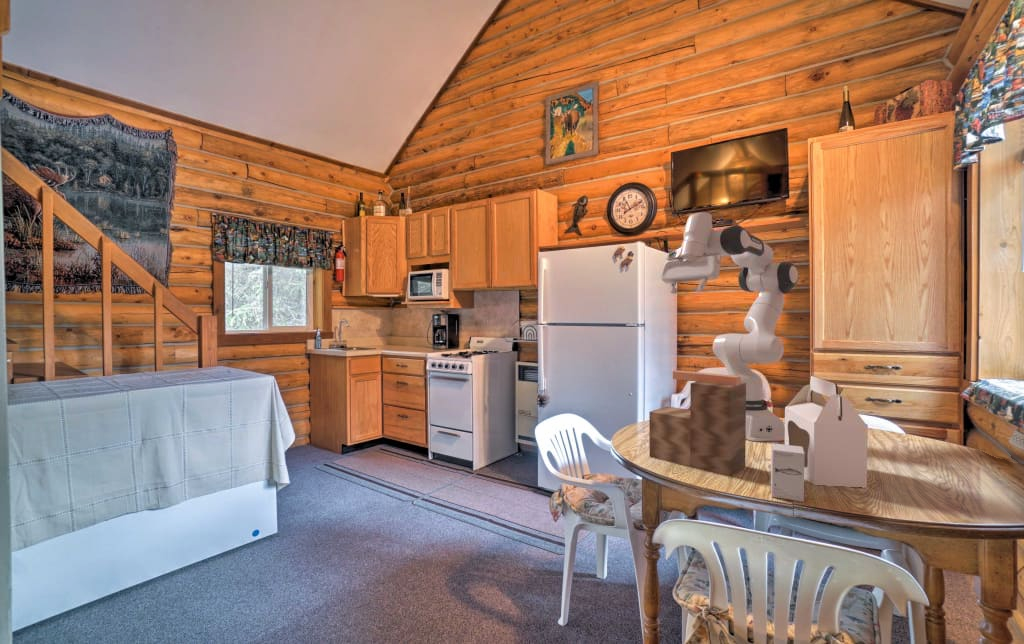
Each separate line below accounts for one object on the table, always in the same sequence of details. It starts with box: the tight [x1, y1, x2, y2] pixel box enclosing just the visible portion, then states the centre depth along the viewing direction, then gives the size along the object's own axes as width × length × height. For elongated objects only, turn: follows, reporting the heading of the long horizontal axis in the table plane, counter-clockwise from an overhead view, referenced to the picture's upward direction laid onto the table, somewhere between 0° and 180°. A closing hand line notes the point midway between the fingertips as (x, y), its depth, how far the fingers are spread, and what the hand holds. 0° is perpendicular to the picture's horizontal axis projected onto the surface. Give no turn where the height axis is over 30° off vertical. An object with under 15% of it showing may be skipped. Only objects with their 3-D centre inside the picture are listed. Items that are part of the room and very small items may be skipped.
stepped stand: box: [648, 381, 747, 477], centre depth 152 cm, size 26×12×26 cm, turn 44°
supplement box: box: [770, 442, 805, 503], centre depth 124 cm, size 7×7×13 cm
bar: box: [672, 369, 741, 386], centre depth 149 cm, size 20×4×2 cm, turn 44°
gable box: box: [784, 375, 869, 489], centre depth 140 cm, size 22×13×28 cm, turn 169°
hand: (685, 292), depth 162 cm, fingers open, 8 cm apart
